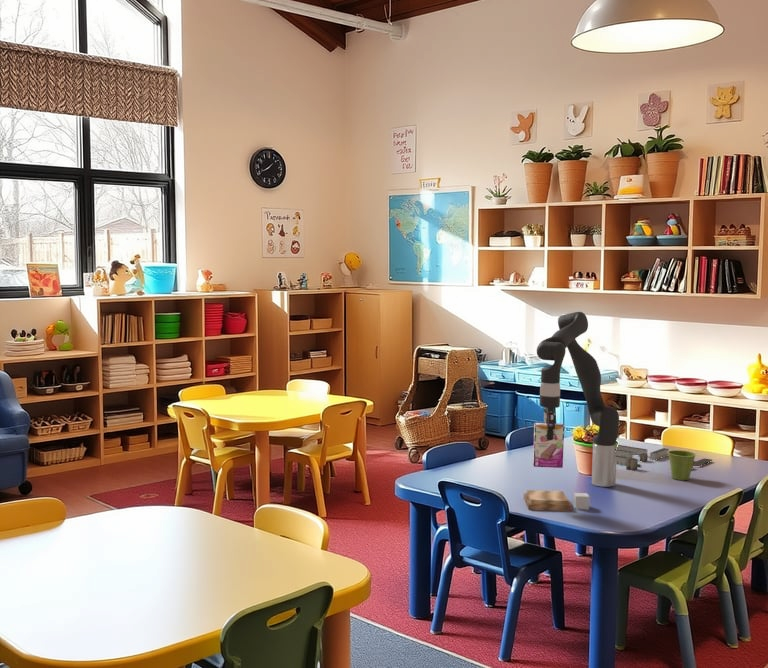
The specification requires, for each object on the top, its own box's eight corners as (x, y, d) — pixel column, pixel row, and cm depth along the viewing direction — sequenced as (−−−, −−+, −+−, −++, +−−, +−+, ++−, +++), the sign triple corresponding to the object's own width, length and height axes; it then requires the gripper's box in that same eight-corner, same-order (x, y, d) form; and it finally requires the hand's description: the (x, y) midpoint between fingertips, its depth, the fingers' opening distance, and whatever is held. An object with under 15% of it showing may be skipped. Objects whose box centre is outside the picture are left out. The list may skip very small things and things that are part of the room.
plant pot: (671, 481, 377) (672, 455, 376) (663, 475, 389) (664, 449, 388) (699, 482, 376) (700, 456, 376) (690, 475, 388) (691, 450, 387)
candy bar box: (533, 467, 336) (534, 424, 335) (532, 464, 341) (533, 422, 340) (563, 468, 335) (564, 425, 334) (562, 465, 340) (563, 423, 339)
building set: (580, 462, 414) (581, 451, 413) (623, 448, 445) (623, 438, 445) (673, 478, 384) (673, 467, 383) (712, 463, 415) (712, 452, 415)
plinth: (564, 499, 347) (564, 490, 347) (571, 510, 331) (571, 501, 331) (523, 498, 348) (523, 489, 347) (528, 509, 332) (528, 500, 331)
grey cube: (586, 506, 338) (587, 493, 338) (589, 509, 333) (589, 496, 333) (573, 505, 338) (573, 492, 338) (575, 509, 333) (576, 496, 333)
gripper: (563, 397, 329) (561, 442, 330) (557, 391, 343) (555, 434, 344) (542, 397, 329) (541, 442, 330) (537, 391, 343) (536, 434, 345)
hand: (548, 438), depth 337 cm, fingers closed on candy bar box, 5 cm apart
